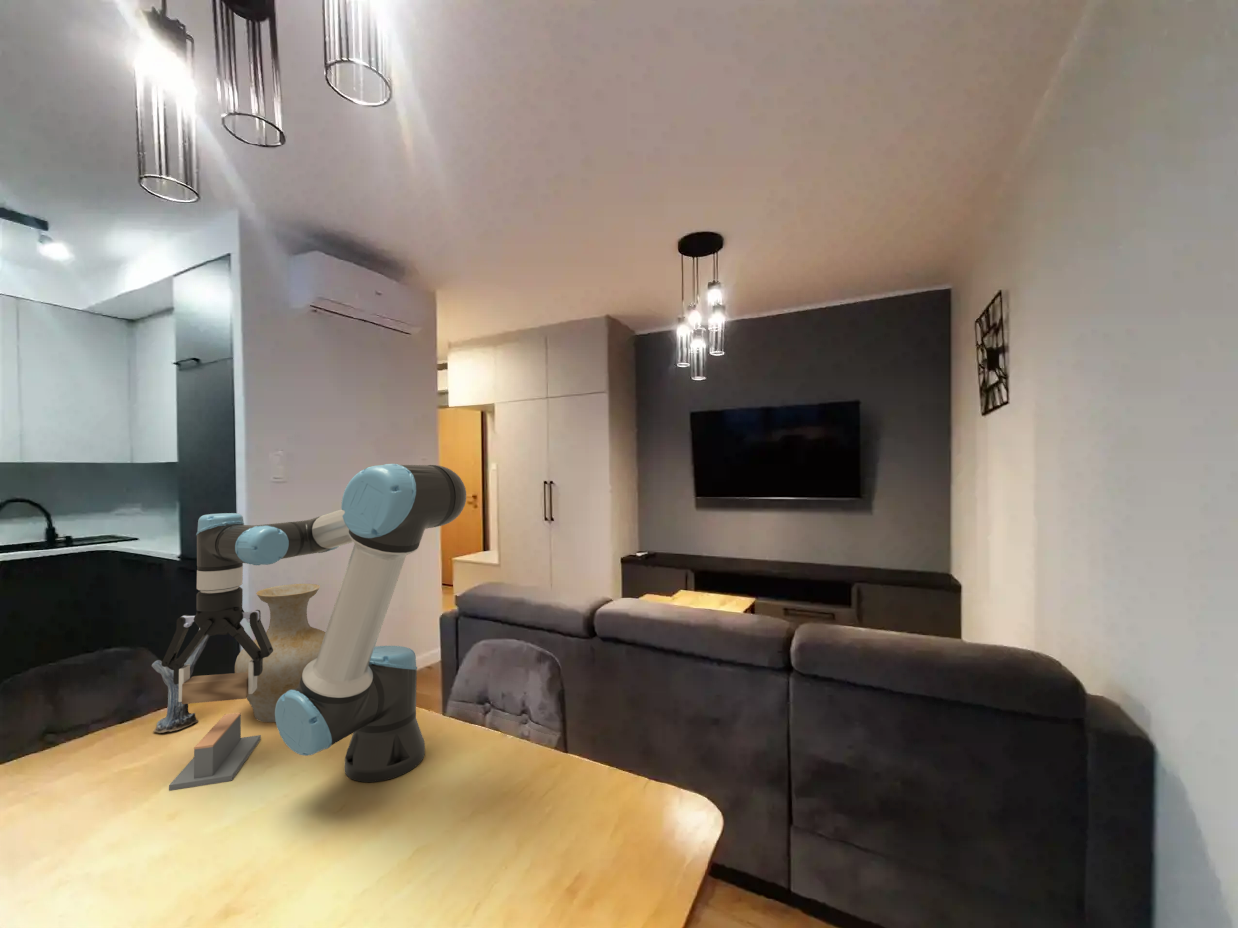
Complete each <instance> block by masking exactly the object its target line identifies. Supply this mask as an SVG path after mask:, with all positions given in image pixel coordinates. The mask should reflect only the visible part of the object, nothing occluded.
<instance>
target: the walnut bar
mask: <svg viewBox="0 0 1238 928" xmlns="http://www.w3.org/2000/svg"><path fill="white" fill-rule="evenodd" d="M249 695H250V694H248V672H244V673H235V672H234V673H232V672H231V673H221V674H209V675H207V674H206V675H205V674H204V675H194V676H191V678H190V679H189V680H187V681H186V682H184V683H183V684H182V704H188V705H189V704H198V703H210V702H211V703H212V702H213V703H214V702H223V701H235V700H245V699H246V700H247V697H248V696H249Z"/></svg>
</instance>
